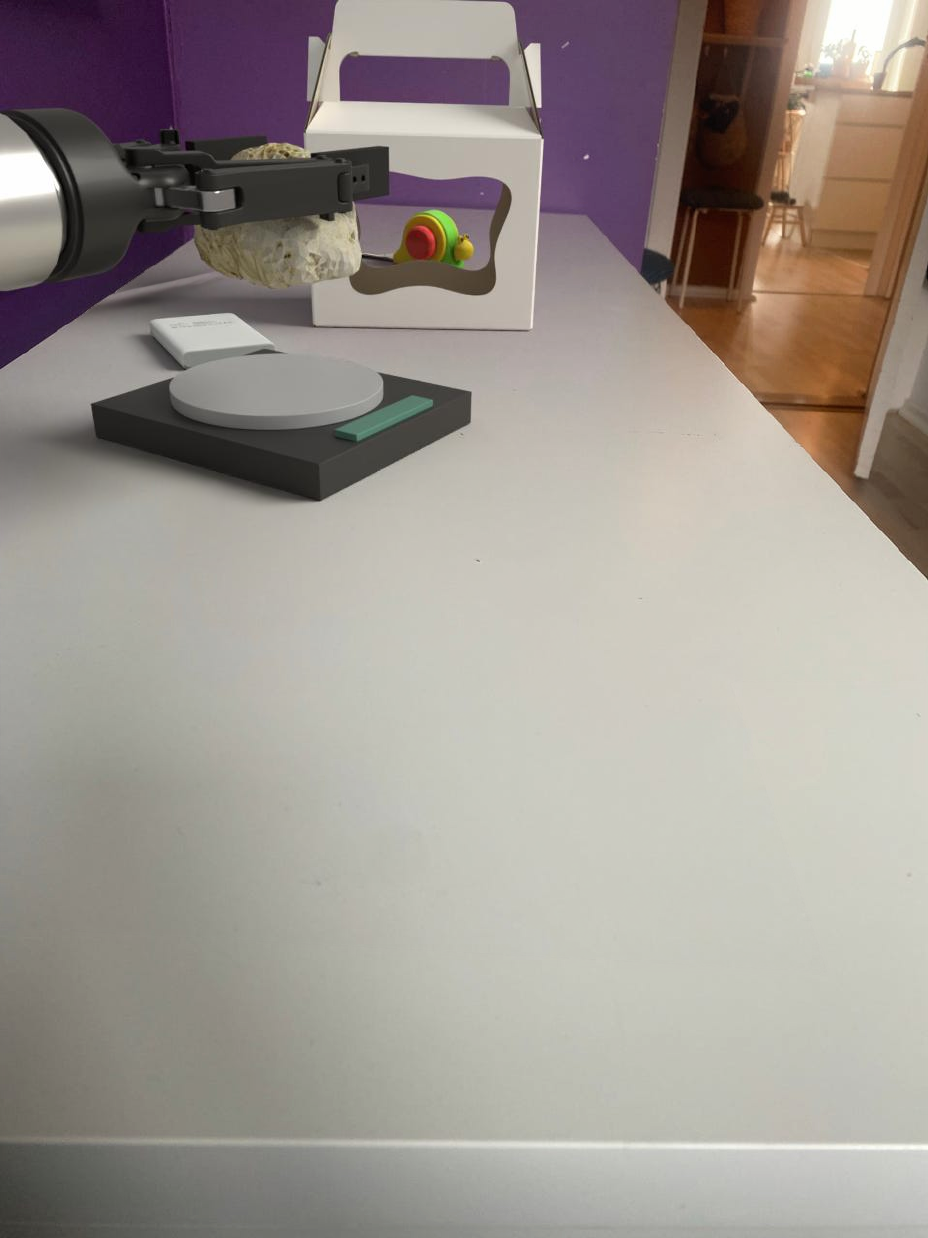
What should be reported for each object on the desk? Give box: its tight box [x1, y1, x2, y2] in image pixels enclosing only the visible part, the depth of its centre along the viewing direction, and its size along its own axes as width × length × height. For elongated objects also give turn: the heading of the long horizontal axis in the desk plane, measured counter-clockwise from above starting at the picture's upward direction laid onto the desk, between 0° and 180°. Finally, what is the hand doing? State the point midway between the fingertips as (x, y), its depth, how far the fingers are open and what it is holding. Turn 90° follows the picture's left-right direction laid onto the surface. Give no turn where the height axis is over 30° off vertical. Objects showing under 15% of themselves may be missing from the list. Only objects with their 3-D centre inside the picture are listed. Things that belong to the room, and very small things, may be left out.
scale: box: [90, 349, 473, 502], centre depth 72 cm, size 20×18×3 cm
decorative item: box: [193, 142, 363, 290], centre depth 61 cm, size 12×9×10 cm
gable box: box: [303, 0, 545, 332], centre depth 98 cm, size 22×13×28 cm, turn 92°
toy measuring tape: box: [361, 209, 475, 269], centre depth 127 cm, size 6×20×7 cm, turn 59°
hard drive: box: [149, 312, 276, 370], centre depth 91 cm, size 2×8×12 cm
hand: (321, 164), depth 63 cm, fingers closed on decorative item, 9 cm apart
